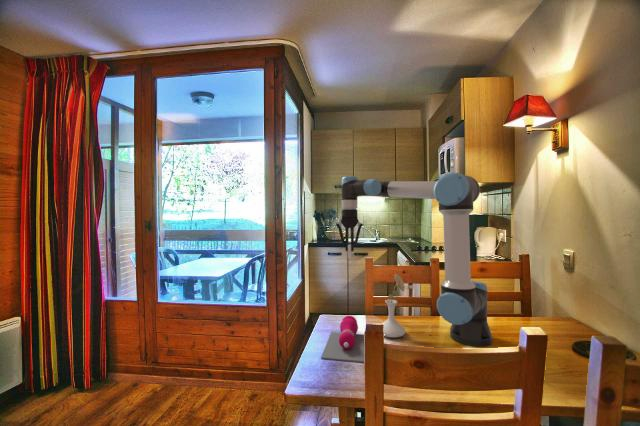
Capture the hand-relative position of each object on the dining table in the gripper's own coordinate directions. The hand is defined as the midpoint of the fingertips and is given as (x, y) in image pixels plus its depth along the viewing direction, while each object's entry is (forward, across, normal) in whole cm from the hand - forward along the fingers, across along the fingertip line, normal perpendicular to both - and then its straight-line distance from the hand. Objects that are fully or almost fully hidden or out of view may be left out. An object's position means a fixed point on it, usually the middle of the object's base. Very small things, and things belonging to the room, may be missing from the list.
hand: (349, 258), depth 146 cm
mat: (+28, -2, +32) cm, 43 cm away
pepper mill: (+24, -2, +18) cm, 30 cm away
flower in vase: (+29, -19, +17) cm, 38 cm away
